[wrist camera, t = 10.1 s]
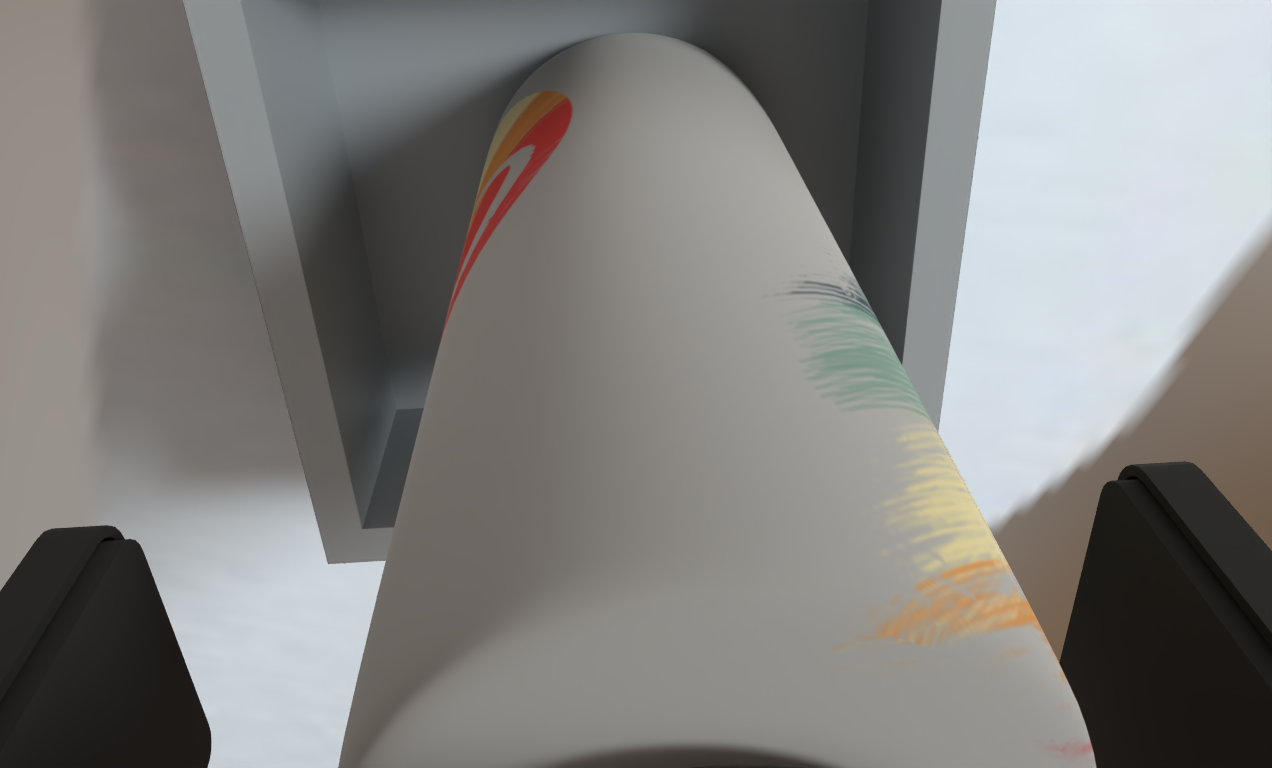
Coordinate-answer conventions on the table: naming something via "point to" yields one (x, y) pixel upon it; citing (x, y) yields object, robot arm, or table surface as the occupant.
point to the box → (455, 158)
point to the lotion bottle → (683, 475)
